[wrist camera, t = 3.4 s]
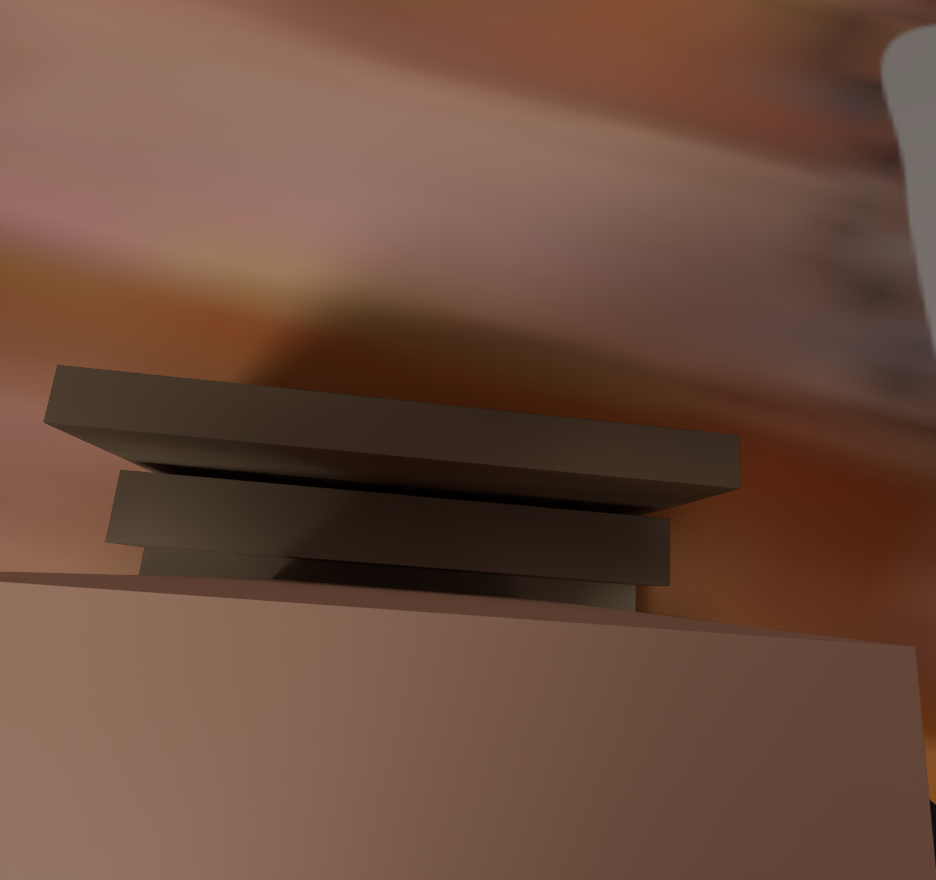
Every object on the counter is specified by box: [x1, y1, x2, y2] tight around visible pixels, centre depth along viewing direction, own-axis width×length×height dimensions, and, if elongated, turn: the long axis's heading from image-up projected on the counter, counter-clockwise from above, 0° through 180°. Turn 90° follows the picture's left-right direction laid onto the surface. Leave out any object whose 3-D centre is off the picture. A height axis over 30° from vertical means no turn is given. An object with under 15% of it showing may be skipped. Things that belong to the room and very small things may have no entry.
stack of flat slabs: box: [44, 365, 741, 612], centre depth 13 cm, size 9×12×6 cm
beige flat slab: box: [0, 572, 936, 880], centre depth 9 cm, size 2×6×12 cm, turn 85°
